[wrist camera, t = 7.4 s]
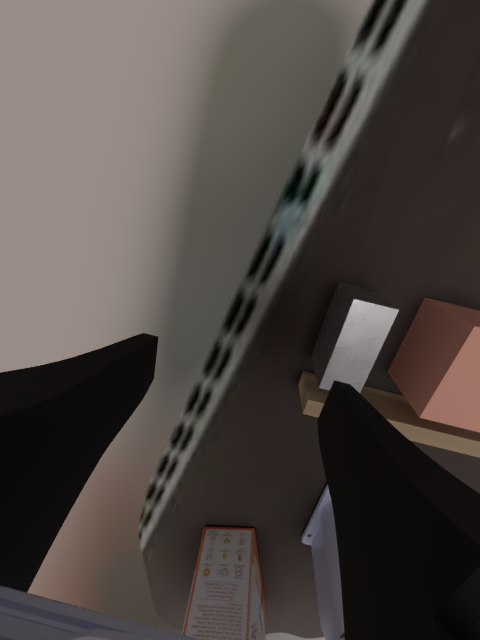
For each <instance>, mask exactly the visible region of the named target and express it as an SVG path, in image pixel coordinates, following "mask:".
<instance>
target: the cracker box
mask: <svg viewBox="0 0 480 640" xmlns="http://www.w3.org/2000/svg"><path fill="white" fill-rule="evenodd" d="M265 626H266V604H265V598H264V591H263V584H262V577H261V570H260V562H259V555H258V548H257V541H256V534H255V529H254V528H238V527H208V526H206V527H204V529H203V534H202V539H201V544H200V549H199V554H198V558H197V563H196V568H195V572H194V577H193V582H192V587H191V592H190V597H189V601H188V606H187V611H186V616H185V620H184V625H183V630H182V635H185V636H189V637H193V638H196V639H200V640H265Z"/></svg>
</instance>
